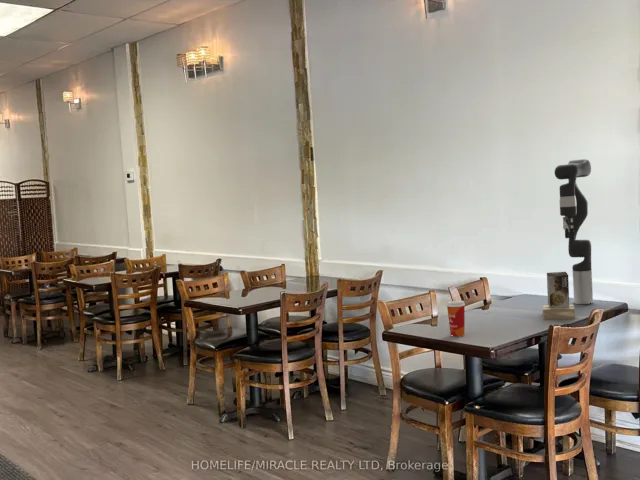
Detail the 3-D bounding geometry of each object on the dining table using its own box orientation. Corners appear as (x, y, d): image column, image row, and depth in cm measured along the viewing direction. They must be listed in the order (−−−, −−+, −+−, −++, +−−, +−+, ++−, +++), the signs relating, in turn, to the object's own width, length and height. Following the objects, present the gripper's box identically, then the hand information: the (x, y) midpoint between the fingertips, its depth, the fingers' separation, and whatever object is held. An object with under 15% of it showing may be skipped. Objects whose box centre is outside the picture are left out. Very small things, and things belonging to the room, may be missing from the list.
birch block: (543, 314, 327) (542, 304, 327) (573, 314, 323) (572, 304, 322) (543, 320, 315) (543, 309, 314) (575, 319, 310) (574, 309, 310)
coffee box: (567, 303, 321) (566, 271, 317) (569, 307, 314) (568, 274, 311) (547, 304, 322) (546, 272, 319) (549, 308, 316) (548, 275, 313)
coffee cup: (445, 334, 298) (443, 301, 297) (463, 332, 298) (461, 299, 297) (451, 338, 289) (449, 304, 288) (469, 336, 290) (467, 302, 289)
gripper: (579, 205, 315) (581, 239, 316) (572, 204, 329) (574, 237, 330) (563, 206, 316) (564, 240, 317) (557, 205, 330) (558, 238, 331)
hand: (569, 238), depth 324 cm, fingers open, 8 cm apart
